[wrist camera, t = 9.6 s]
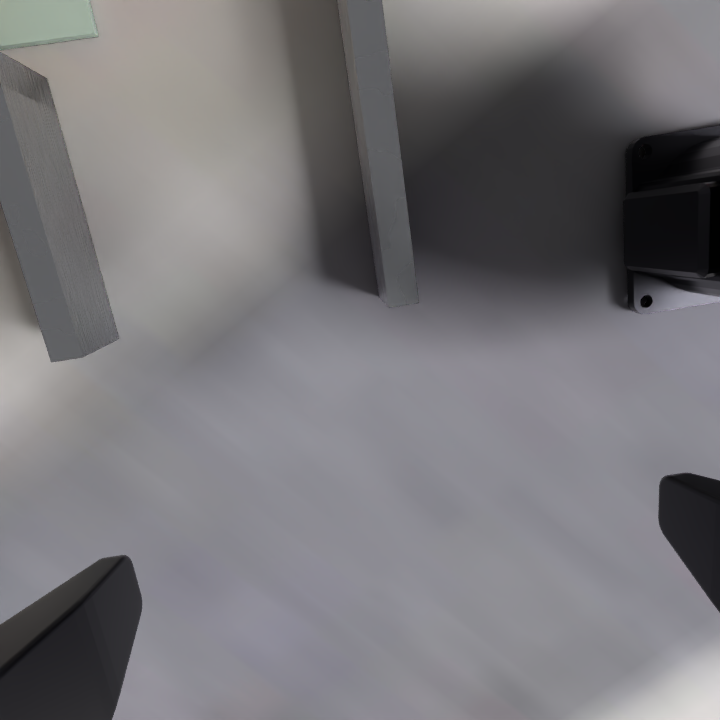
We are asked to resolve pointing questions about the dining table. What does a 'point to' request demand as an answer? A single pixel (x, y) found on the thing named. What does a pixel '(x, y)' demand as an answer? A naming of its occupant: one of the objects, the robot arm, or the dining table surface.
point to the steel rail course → (69, 226)
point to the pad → (44, 22)
